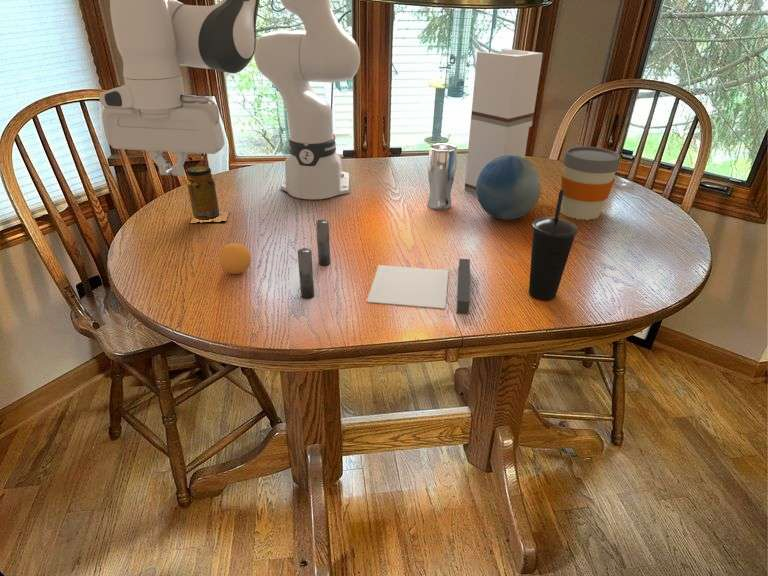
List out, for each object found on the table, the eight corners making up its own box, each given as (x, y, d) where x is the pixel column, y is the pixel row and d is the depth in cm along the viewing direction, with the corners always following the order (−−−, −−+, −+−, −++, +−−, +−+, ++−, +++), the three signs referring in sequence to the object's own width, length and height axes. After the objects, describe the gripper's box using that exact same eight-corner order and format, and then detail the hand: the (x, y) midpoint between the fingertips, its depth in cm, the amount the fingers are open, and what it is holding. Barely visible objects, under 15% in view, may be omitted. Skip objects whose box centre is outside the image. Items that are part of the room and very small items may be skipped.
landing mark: (378, 265, 106) (378, 265, 106) (448, 271, 105) (448, 270, 105) (366, 302, 94) (366, 301, 94) (445, 309, 93) (445, 308, 93)
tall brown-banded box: (521, 192, 144) (542, 53, 126) (497, 201, 138) (516, 56, 120) (488, 181, 151) (504, 48, 133) (464, 190, 145) (477, 51, 127)
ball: (228, 263, 106) (224, 236, 103) (256, 266, 106) (253, 238, 103) (216, 278, 101) (211, 250, 98) (246, 280, 100) (242, 252, 97)
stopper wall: (458, 269, 105) (459, 258, 104) (468, 270, 105) (469, 259, 104) (456, 313, 92) (457, 300, 90) (468, 314, 91) (469, 301, 90)
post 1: (303, 291, 97) (299, 247, 93) (315, 292, 97) (313, 248, 92) (299, 298, 95) (295, 253, 91) (312, 299, 95) (309, 254, 90)
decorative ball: (481, 202, 137) (487, 144, 130) (539, 211, 132) (550, 152, 125) (466, 223, 125) (472, 161, 118) (530, 234, 120) (540, 170, 113)
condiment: (195, 212, 129) (186, 164, 123) (230, 211, 130) (223, 163, 124) (189, 224, 123) (179, 174, 117) (226, 223, 124) (218, 173, 118)
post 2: (320, 260, 108) (317, 219, 104) (331, 260, 108) (329, 220, 103) (317, 265, 106) (314, 224, 102) (328, 266, 106) (326, 224, 101)
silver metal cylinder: (443, 212, 131) (448, 152, 123) (420, 206, 134) (423, 147, 127) (458, 204, 136) (463, 146, 128) (435, 198, 139) (438, 141, 132)
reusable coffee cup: (553, 219, 128) (564, 158, 121) (554, 201, 139) (565, 144, 131) (608, 225, 125) (623, 163, 117) (605, 207, 135) (619, 148, 128)
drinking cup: (556, 283, 101) (576, 182, 91) (569, 304, 94) (593, 198, 84) (516, 283, 101) (532, 182, 91) (527, 305, 94) (545, 198, 84)
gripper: (223, 93, 89) (234, 172, 96) (111, 88, 92) (130, 166, 99) (208, 100, 84) (220, 184, 91) (89, 95, 86) (110, 177, 93)
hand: (172, 174), depth 95 cm, fingers closed
